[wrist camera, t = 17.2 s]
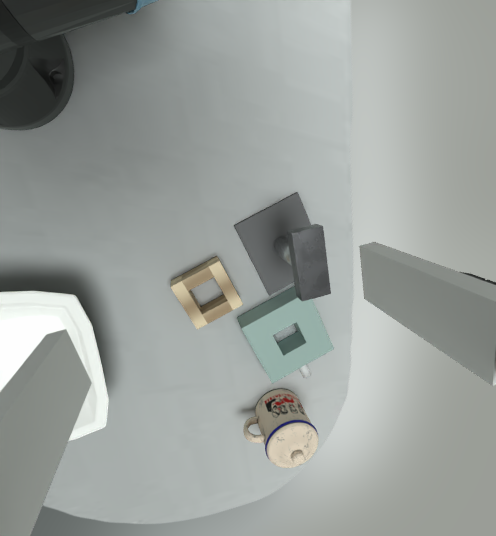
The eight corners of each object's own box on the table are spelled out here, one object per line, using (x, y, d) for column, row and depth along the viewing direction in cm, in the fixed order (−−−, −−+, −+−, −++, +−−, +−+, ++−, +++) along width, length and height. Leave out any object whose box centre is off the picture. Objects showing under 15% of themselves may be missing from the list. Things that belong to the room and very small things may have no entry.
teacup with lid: (302, 385, 58) (331, 433, 47) (296, 425, 61) (321, 479, 50) (240, 388, 56) (255, 440, 45) (236, 430, 58) (249, 489, 47)
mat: (234, 225, 47) (234, 225, 47) (296, 192, 48) (297, 192, 47) (268, 294, 52) (269, 295, 51) (325, 263, 52) (326, 263, 52)
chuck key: (275, 275, 50) (302, 301, 39) (265, 221, 47) (291, 233, 37) (298, 269, 51) (330, 293, 40) (290, 215, 48) (322, 226, 37)
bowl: (99, 263, 45) (82, 281, 37) (126, 395, 51) (116, 434, 43) (-79, 281, 41) (-142, 306, 33) (-25, 422, 47) (-66, 471, 39)
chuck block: (236, 317, 52) (241, 328, 48) (299, 283, 52) (308, 291, 48) (273, 383, 57) (280, 397, 53) (330, 351, 58) (340, 363, 54)
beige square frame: (171, 280, 47) (170, 287, 45) (217, 256, 48) (219, 260, 45) (196, 320, 50) (197, 329, 47) (239, 297, 51) (243, 304, 48)
